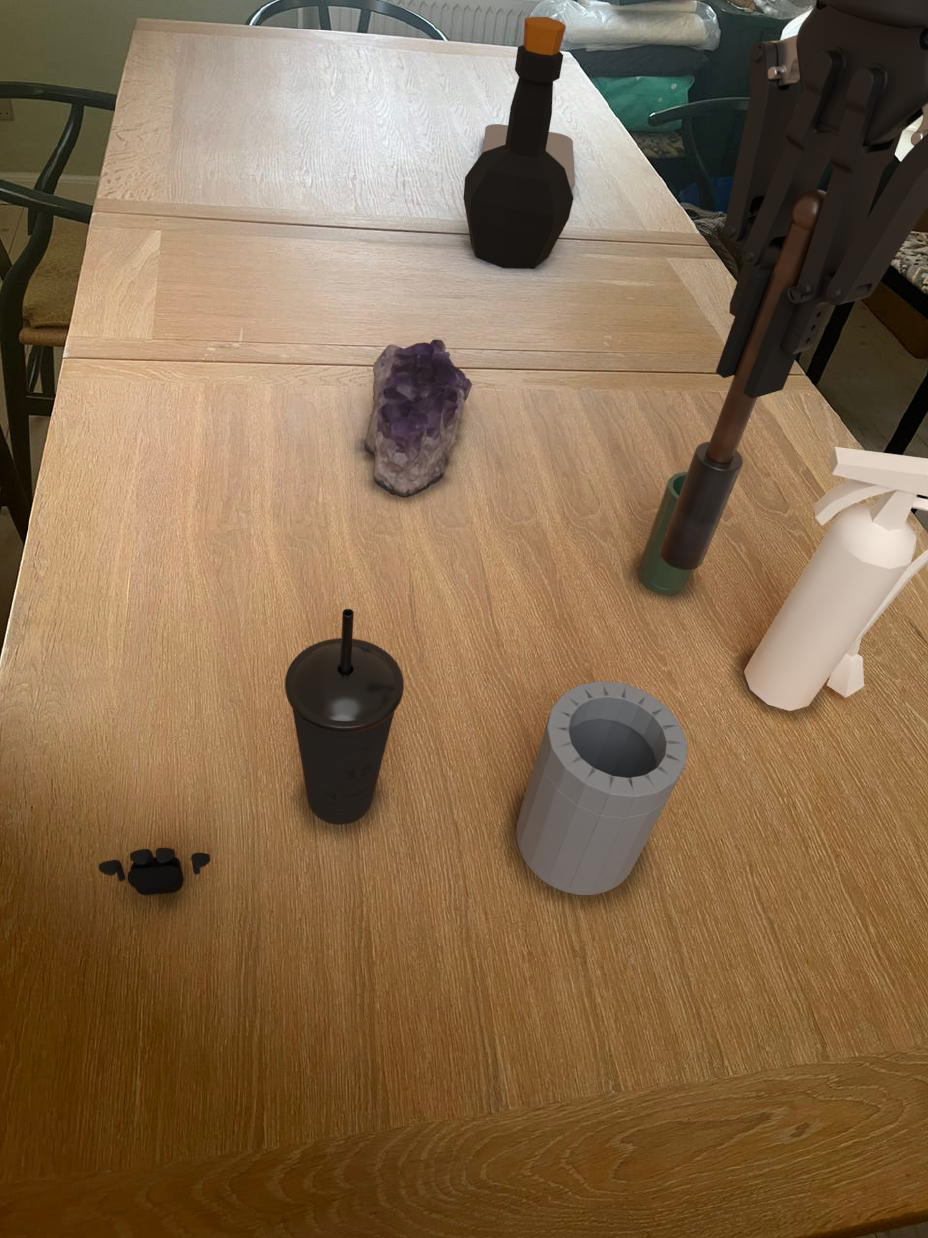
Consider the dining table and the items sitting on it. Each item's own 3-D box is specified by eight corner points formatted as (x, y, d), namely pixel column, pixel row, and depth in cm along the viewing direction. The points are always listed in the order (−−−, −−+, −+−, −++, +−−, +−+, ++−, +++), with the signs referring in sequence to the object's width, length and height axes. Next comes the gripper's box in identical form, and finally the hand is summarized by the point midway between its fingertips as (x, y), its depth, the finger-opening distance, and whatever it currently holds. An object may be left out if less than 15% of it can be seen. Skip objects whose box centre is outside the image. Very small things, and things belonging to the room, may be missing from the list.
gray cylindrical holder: (642, 804, 72) (691, 700, 63) (629, 911, 66) (682, 813, 56) (528, 773, 73) (560, 666, 64) (504, 876, 66) (536, 774, 57)
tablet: (477, 188, 154) (479, 174, 152) (484, 134, 172) (486, 121, 170) (572, 202, 155) (575, 188, 153) (569, 148, 173) (572, 135, 171)
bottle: (447, 263, 133) (473, 25, 112) (467, 219, 145) (494, -5, 123) (555, 284, 133) (602, 49, 111) (566, 239, 144) (611, 17, 123)
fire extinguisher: (861, 731, 80) (1020, 510, 62) (724, 700, 81) (842, 471, 63) (853, 674, 85) (998, 453, 67) (724, 645, 85) (834, 418, 68)
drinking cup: (267, 789, 69) (257, 601, 55) (349, 739, 73) (359, 552, 59) (329, 861, 65) (335, 681, 51) (411, 804, 69) (437, 623, 55)
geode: (468, 506, 95) (466, 427, 88) (357, 504, 96) (346, 425, 88) (474, 393, 109) (474, 315, 101) (377, 392, 109) (369, 315, 102)
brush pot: (690, 566, 93) (725, 479, 85) (686, 601, 89) (723, 513, 81) (639, 553, 93) (670, 466, 85) (634, 588, 90) (665, 499, 82)
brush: (660, 537, 68) (789, 174, 50) (703, 546, 68) (848, 186, 50) (658, 564, 66) (791, 196, 48) (701, 575, 66) (853, 208, 47)
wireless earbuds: (213, 872, 64) (208, 835, 60) (213, 906, 62) (207, 869, 58) (107, 882, 62) (95, 844, 59) (103, 917, 61) (90, 880, 57)
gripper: (750, -132, 42) (627, 334, 59) (1029, -51, 34) (795, 462, 51) (855, -126, 46) (710, 314, 63) (1132, -50, 38) (880, 431, 54)
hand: (749, 380), depth 57 cm, fingers closed on brush, 2 cm apart
